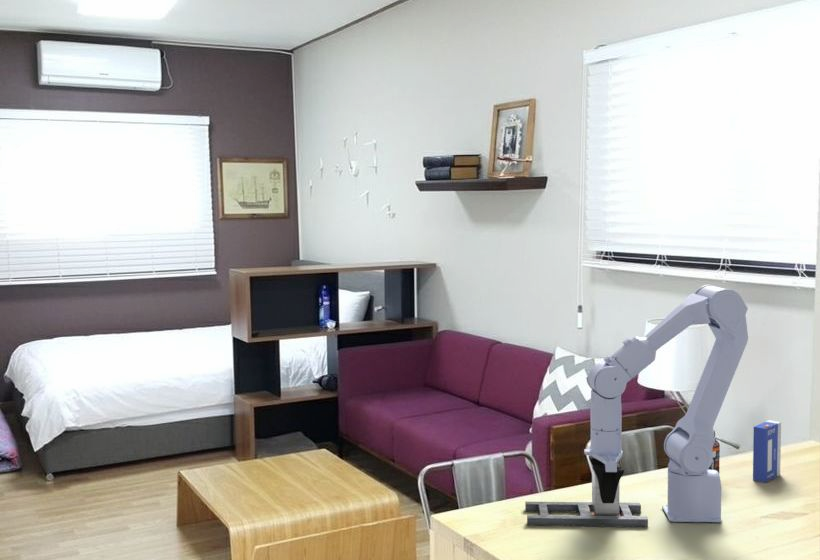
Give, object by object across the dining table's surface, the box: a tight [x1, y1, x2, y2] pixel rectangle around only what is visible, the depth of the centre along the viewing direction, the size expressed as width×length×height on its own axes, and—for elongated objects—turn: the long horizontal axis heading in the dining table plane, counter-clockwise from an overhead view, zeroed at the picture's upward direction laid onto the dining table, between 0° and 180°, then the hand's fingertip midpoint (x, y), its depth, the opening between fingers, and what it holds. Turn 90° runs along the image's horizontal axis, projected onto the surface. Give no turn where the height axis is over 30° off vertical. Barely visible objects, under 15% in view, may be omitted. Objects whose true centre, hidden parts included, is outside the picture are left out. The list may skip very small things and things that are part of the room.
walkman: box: [752, 419, 782, 483], centre depth 187 cm, size 8×3×12 cm, turn 134°
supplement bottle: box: [708, 430, 721, 474], centre depth 185 cm, size 6×6×11 cm
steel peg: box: [591, 466, 620, 516], centre depth 165 cm, size 4×4×8 cm
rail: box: [524, 501, 649, 528], centre depth 166 cm, size 22×9×2 cm, turn 85°
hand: (606, 498), depth 165 cm, fingers closed on steel peg, 4 cm apart
